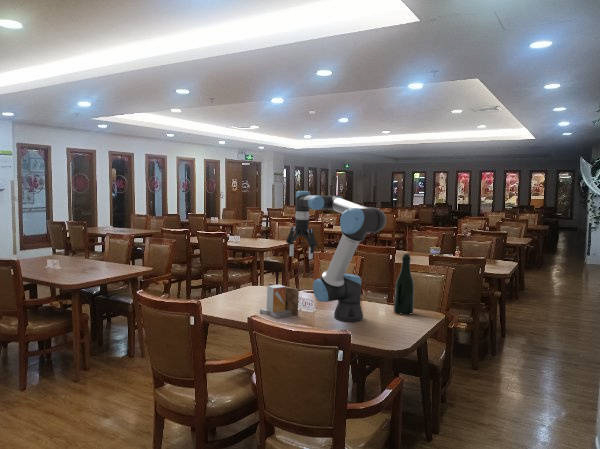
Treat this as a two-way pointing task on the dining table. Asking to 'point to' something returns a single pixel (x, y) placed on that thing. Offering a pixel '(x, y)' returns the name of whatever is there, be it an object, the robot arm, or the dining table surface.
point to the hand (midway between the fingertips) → (300, 257)
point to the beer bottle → (404, 288)
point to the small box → (276, 298)
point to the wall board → (286, 304)
